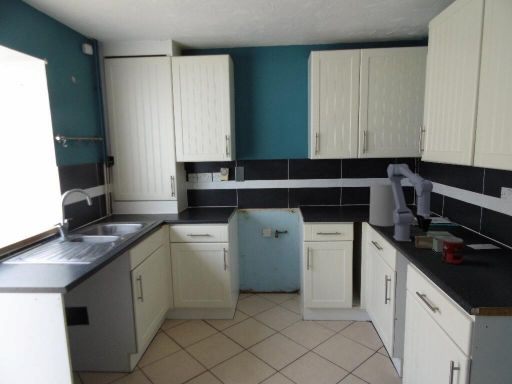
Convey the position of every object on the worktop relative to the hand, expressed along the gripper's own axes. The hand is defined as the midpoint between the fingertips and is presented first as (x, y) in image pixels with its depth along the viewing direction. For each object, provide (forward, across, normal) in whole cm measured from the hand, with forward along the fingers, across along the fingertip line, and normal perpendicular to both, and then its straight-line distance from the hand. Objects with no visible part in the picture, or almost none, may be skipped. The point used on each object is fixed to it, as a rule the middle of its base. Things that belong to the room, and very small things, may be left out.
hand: (423, 230), depth 170 cm
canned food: (+11, -17, -8) cm, 22 cm away
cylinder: (+8, +56, +12) cm, 57 cm away
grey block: (+10, +2, -10) cm, 14 cm away
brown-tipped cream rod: (+10, +2, -4) cm, 11 cm away
